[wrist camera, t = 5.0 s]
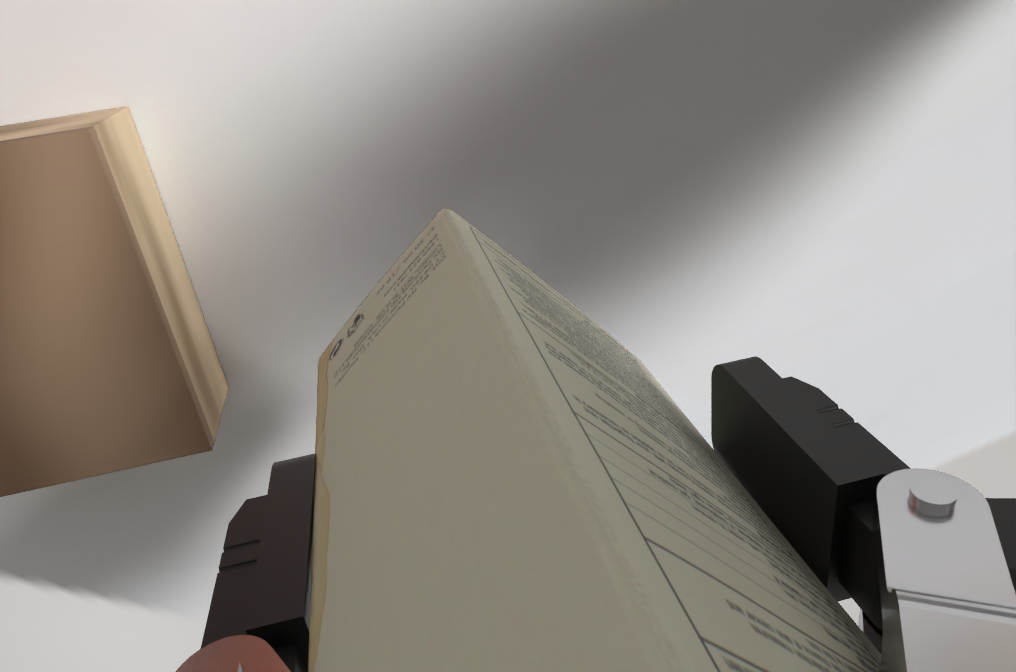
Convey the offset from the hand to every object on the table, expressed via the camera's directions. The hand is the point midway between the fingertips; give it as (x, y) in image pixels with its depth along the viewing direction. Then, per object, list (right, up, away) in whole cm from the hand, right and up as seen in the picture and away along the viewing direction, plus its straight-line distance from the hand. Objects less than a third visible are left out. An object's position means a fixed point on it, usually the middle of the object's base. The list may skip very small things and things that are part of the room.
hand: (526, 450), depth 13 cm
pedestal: (-16, +4, +10) cm, 19 cm away
